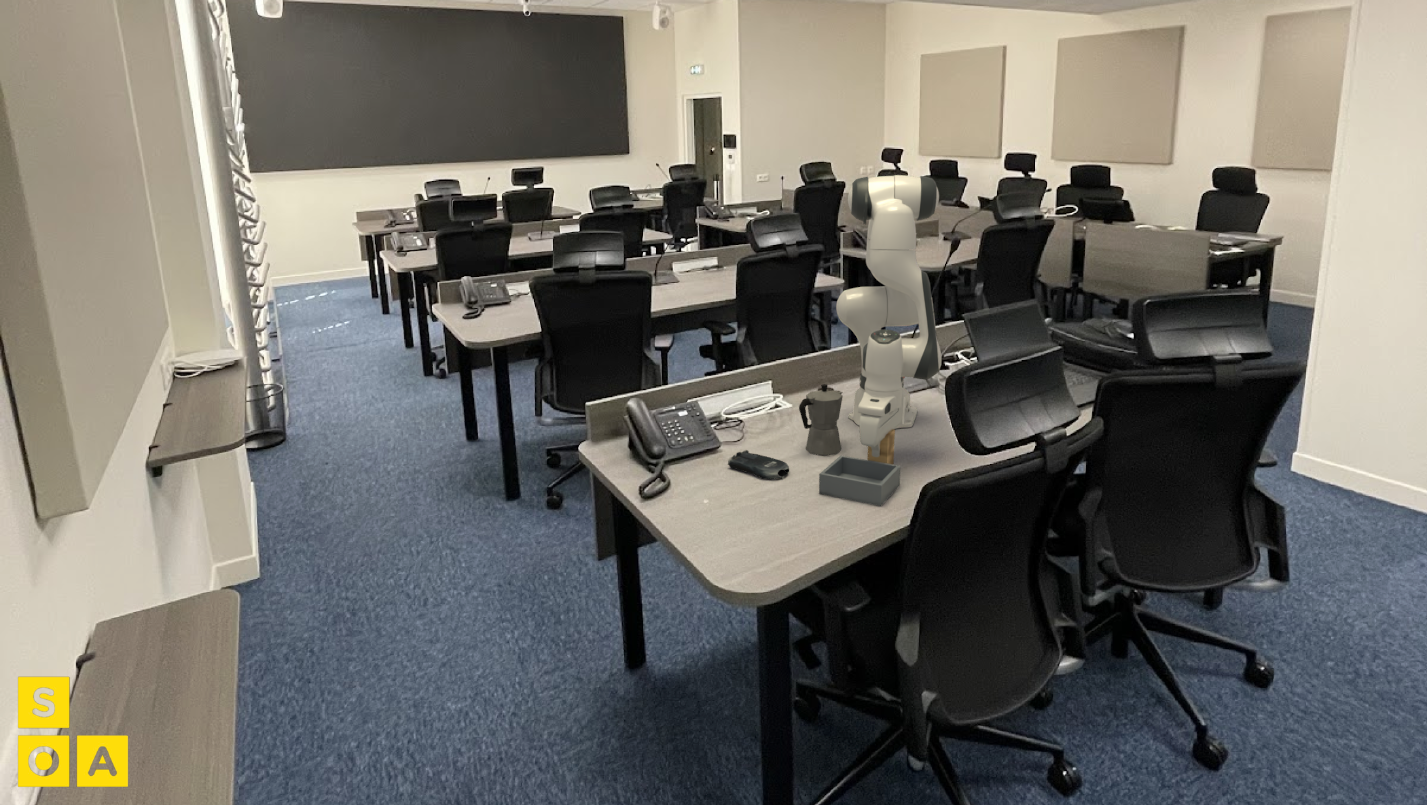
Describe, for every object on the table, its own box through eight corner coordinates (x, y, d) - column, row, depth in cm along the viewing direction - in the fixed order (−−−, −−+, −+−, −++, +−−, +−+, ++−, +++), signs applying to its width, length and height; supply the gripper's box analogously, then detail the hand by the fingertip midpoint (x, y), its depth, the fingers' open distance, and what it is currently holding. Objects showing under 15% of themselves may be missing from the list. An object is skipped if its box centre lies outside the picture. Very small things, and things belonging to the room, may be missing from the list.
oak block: (874, 464, 218) (875, 426, 215) (893, 467, 216) (894, 429, 213) (867, 470, 214) (868, 432, 211) (886, 474, 212) (888, 436, 209)
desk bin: (840, 474, 213) (840, 455, 211) (899, 485, 205) (900, 465, 204) (819, 493, 202) (819, 473, 200) (880, 506, 195) (881, 485, 193)
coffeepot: (827, 439, 236) (828, 375, 231) (853, 448, 229) (855, 382, 224) (786, 453, 227) (786, 387, 221) (812, 463, 220) (813, 395, 214)
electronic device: (726, 476, 218) (775, 482, 208) (725, 454, 217) (774, 459, 207) (748, 469, 225) (796, 475, 215) (747, 448, 224) (796, 453, 215)
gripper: (884, 385, 220) (883, 436, 224) (855, 408, 203) (853, 463, 207) (909, 388, 216) (906, 440, 221) (881, 412, 200) (879, 467, 204)
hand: (880, 451), depth 214 cm, fingers closed on oak block, 5 cm apart
